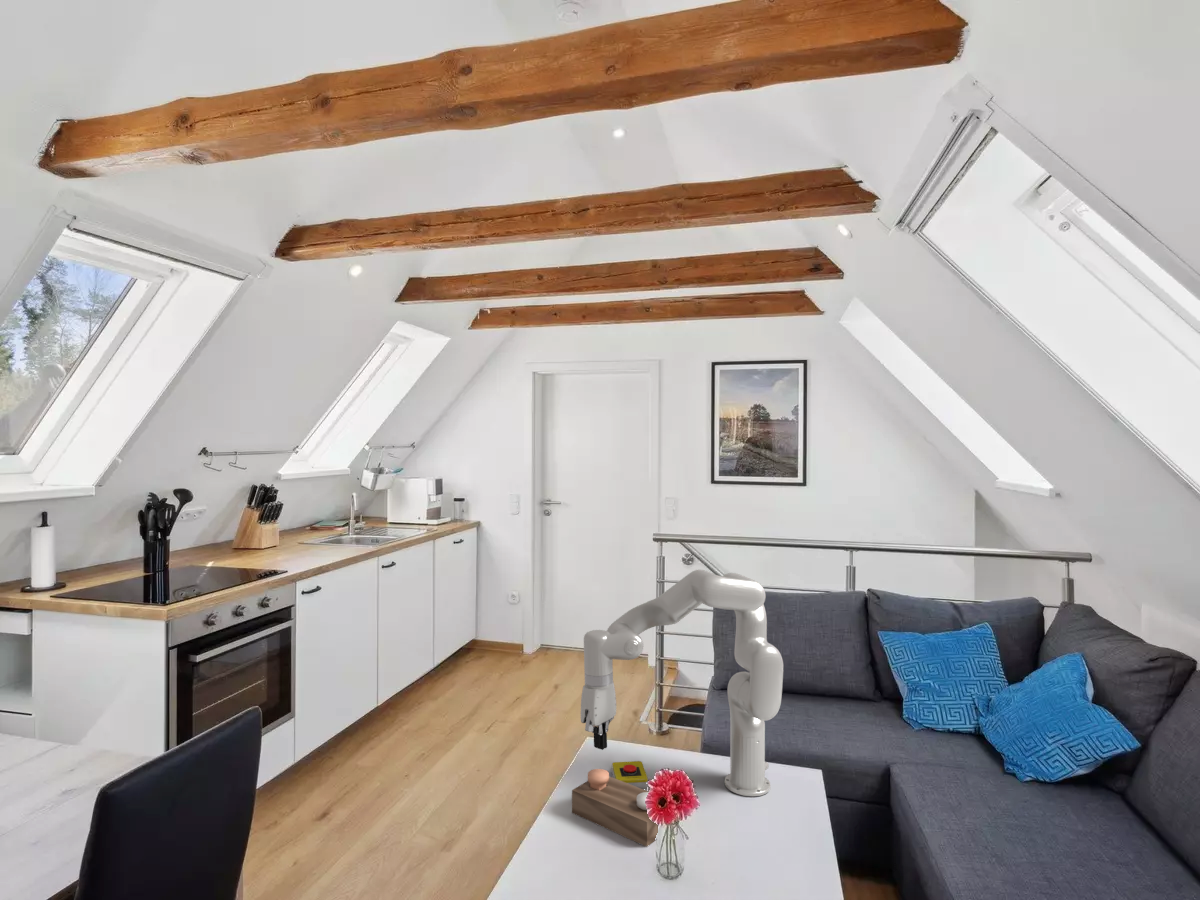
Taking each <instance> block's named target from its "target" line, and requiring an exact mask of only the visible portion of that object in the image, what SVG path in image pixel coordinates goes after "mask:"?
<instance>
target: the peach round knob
mask: <svg viewBox="0 0 1200 900" xmlns="http://www.w3.org/2000/svg"><path fill="white" fill-rule="evenodd" d="M609 776H610V773H609V771H608V770H606V769H603V768H595V769H594V768H592V769H591V770H589V771H588V772H587V781H588V782H589V783H590V787H591V788H594V789H596V790H599V791H600V790H601V789H603V788H605V787H606V783H608V781H609Z"/></svg>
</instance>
